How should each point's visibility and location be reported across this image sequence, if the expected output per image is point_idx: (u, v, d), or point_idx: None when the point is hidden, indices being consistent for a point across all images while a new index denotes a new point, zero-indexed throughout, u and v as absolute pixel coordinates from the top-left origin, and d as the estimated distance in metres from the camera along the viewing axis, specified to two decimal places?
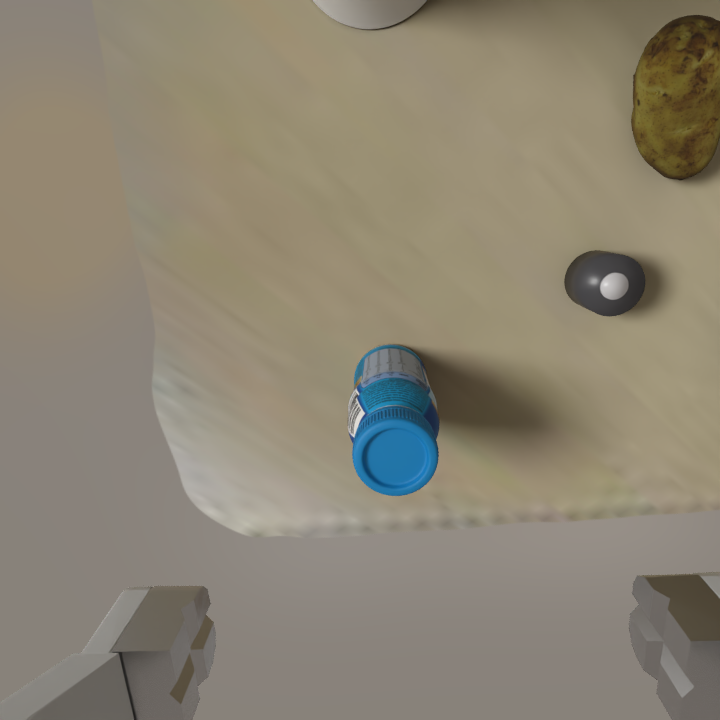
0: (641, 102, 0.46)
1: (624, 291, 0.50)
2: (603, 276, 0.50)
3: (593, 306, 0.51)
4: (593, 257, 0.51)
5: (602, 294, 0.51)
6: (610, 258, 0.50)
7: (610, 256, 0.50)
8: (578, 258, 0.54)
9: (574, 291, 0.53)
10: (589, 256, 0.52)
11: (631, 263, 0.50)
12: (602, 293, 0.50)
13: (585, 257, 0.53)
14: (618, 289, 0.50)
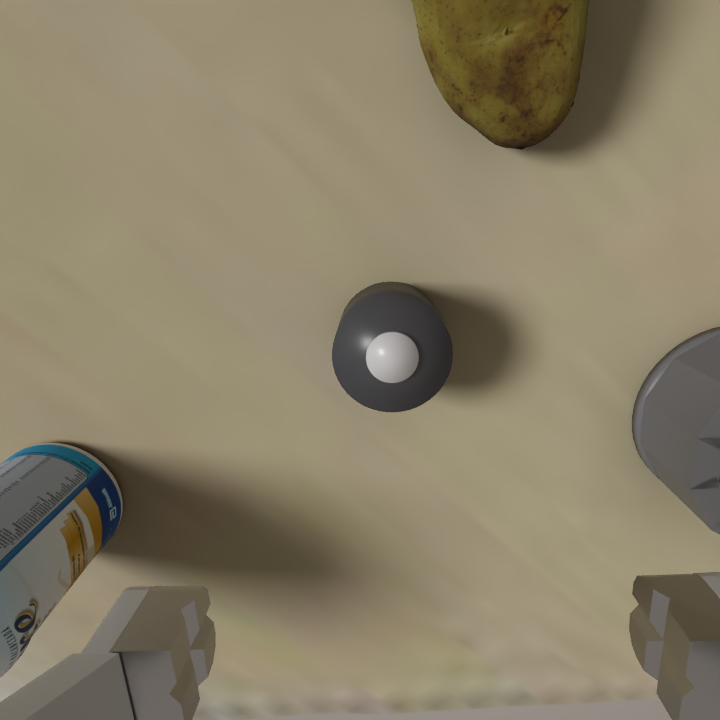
0: None
1: (412, 367, 0.26)
2: (370, 338, 0.26)
3: (358, 393, 0.26)
4: (362, 299, 0.27)
5: (372, 371, 0.26)
6: (379, 304, 0.25)
7: (379, 300, 0.25)
8: (355, 296, 0.29)
9: None
10: (362, 295, 0.28)
11: (422, 314, 0.25)
12: (370, 371, 0.26)
13: (359, 296, 0.28)
14: (400, 363, 0.26)
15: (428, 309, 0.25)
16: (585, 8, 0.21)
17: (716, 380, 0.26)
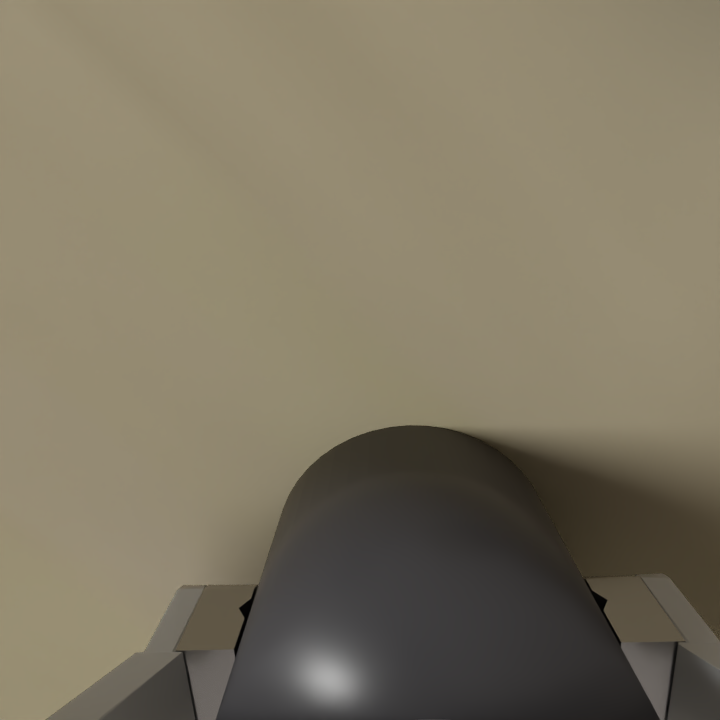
0: None
1: None
2: None
3: None
4: (326, 538, 0.08)
5: None
6: (387, 629, 0.06)
7: (387, 614, 0.06)
8: (315, 472, 0.10)
9: None
10: (331, 501, 0.09)
11: (566, 670, 0.06)
12: None
13: (322, 494, 0.09)
14: None
15: (591, 650, 0.06)
16: None
17: None
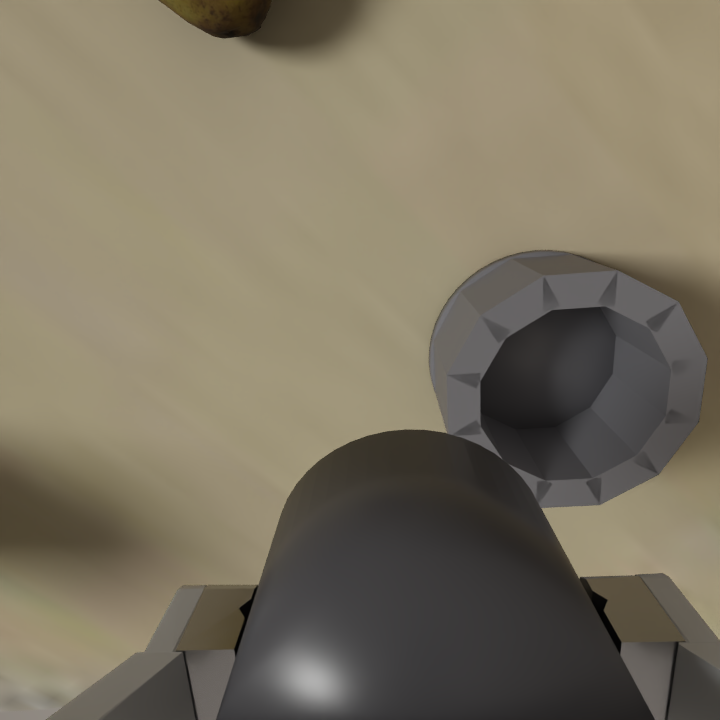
0: None
1: None
2: None
3: None
4: (324, 544, 0.08)
5: None
6: (386, 636, 0.06)
7: (385, 621, 0.06)
8: (314, 476, 0.10)
9: None
10: (330, 506, 0.09)
11: (565, 676, 0.06)
12: None
13: (320, 498, 0.09)
14: None
15: (589, 656, 0.06)
16: None
17: (474, 308, 0.22)
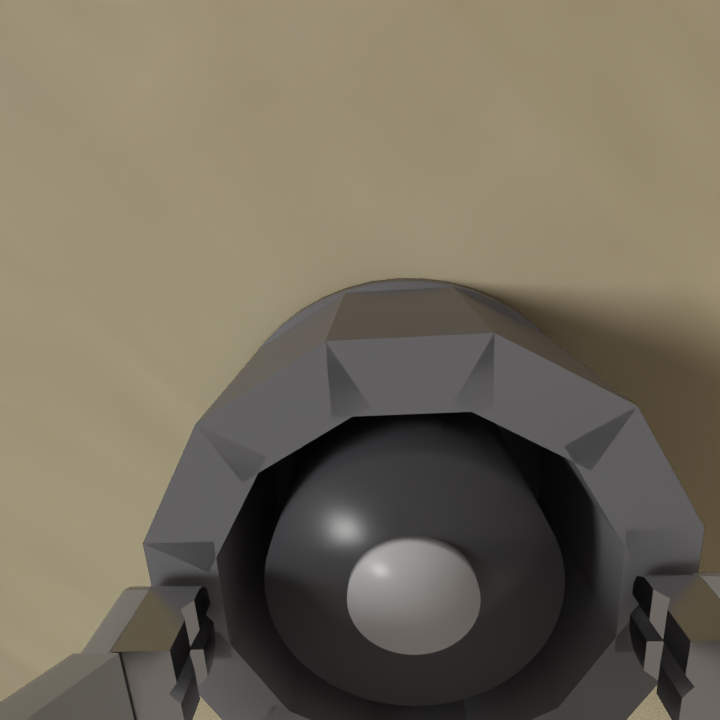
0: None
1: (463, 623, 0.10)
2: (357, 550, 0.10)
3: (331, 666, 0.11)
4: (341, 434, 0.11)
5: (363, 622, 0.11)
6: (381, 471, 0.10)
7: (381, 462, 0.10)
8: None
9: None
10: None
11: (493, 498, 0.10)
12: (358, 628, 0.10)
13: None
14: (433, 614, 0.10)
15: (508, 485, 0.10)
16: None
17: (220, 397, 0.11)
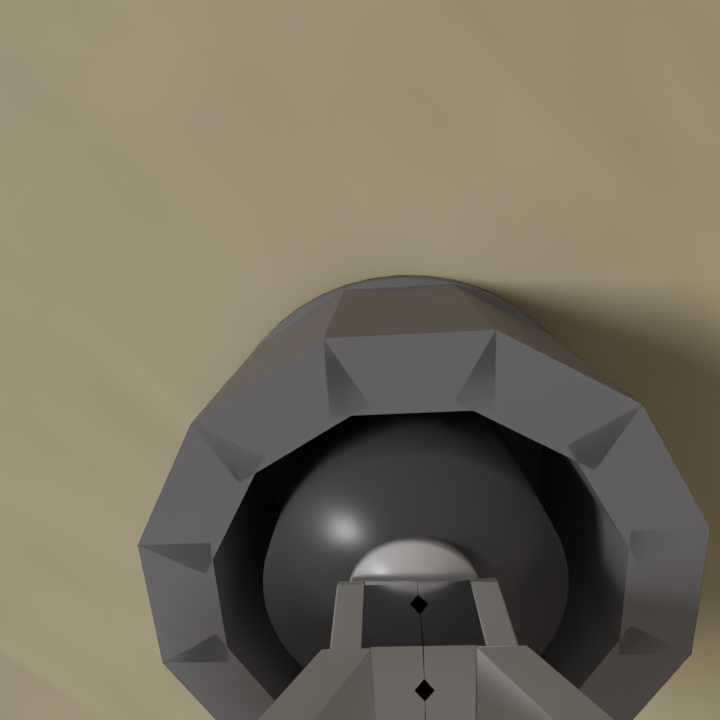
0: None
1: None
2: (358, 551, 0.10)
3: None
4: (342, 433, 0.11)
5: None
6: (384, 471, 0.09)
7: (384, 462, 0.09)
8: None
9: None
10: None
11: (497, 499, 0.10)
12: None
13: None
14: None
15: (512, 486, 0.10)
16: None
17: (216, 396, 0.10)
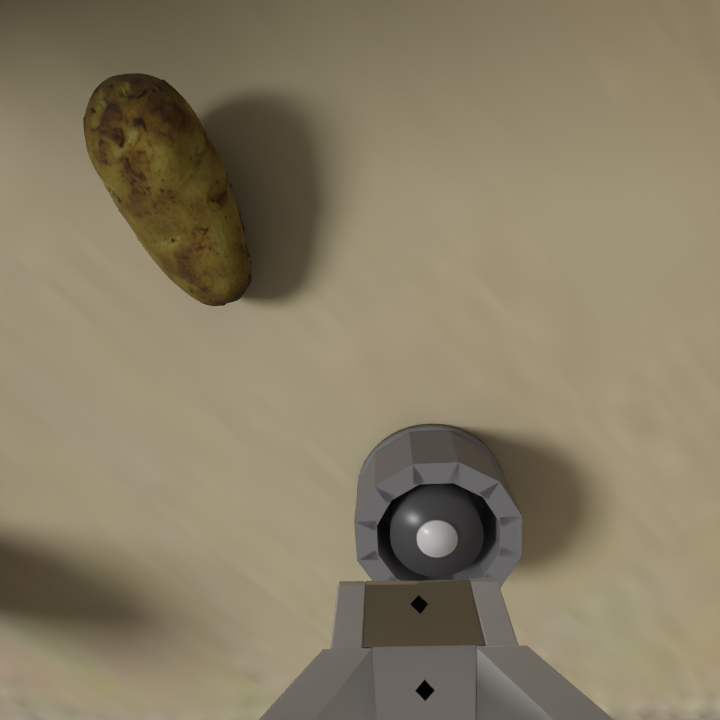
0: None
1: (452, 546, 0.33)
2: (420, 523, 0.33)
3: (410, 562, 0.34)
4: None
5: (421, 547, 0.34)
6: (428, 499, 0.33)
7: (428, 497, 0.33)
8: None
9: None
10: None
11: (461, 508, 0.33)
12: (419, 548, 0.33)
13: None
14: (443, 543, 0.33)
15: (465, 504, 0.33)
16: (227, 225, 0.30)
17: (375, 476, 0.34)
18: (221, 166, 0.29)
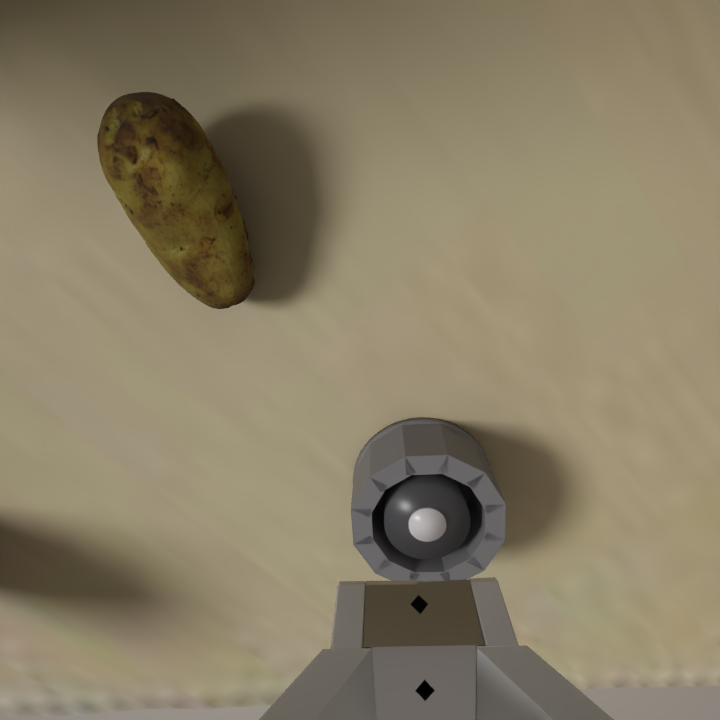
0: None
1: (441, 532, 0.36)
2: (411, 511, 0.36)
3: (402, 546, 0.37)
4: None
5: (412, 532, 0.36)
6: (419, 489, 0.35)
7: (419, 486, 0.35)
8: None
9: None
10: None
11: (449, 496, 0.35)
12: (411, 533, 0.36)
13: None
14: (433, 529, 0.36)
15: (453, 493, 0.35)
16: (233, 234, 0.32)
17: (370, 467, 0.36)
18: (227, 179, 0.31)
